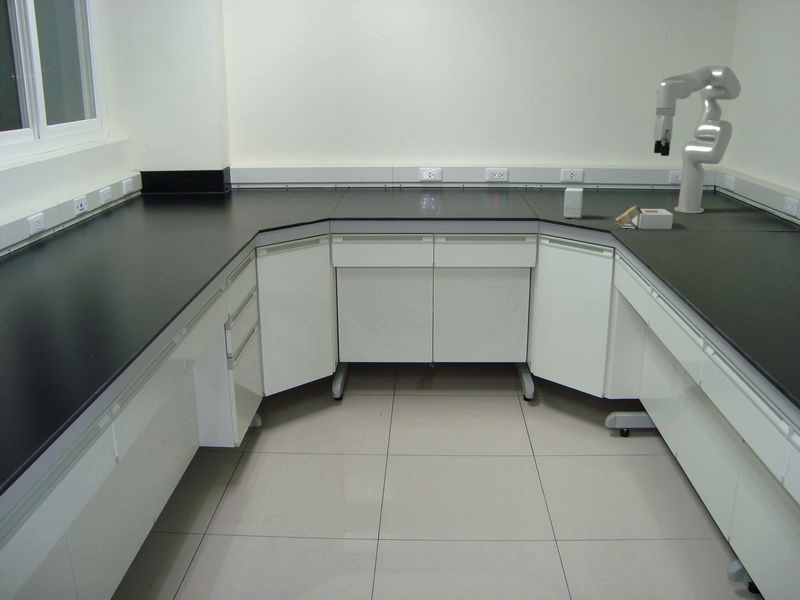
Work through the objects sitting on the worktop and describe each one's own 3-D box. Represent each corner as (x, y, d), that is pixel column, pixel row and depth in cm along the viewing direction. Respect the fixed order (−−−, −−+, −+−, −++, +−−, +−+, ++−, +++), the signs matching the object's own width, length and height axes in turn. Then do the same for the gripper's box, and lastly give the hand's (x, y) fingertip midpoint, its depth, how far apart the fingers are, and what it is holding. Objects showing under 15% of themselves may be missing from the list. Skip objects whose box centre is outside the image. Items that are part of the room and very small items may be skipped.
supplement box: (581, 216, 326) (584, 188, 322) (580, 219, 319) (582, 190, 315) (565, 215, 328) (566, 187, 324) (562, 218, 321) (564, 189, 317)
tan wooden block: (615, 219, 304) (635, 204, 302) (619, 225, 305) (640, 210, 303) (617, 220, 301) (638, 205, 299) (621, 226, 302) (642, 212, 300)
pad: (610, 225, 308) (610, 223, 308) (630, 225, 307) (630, 223, 307) (615, 229, 300) (615, 227, 300) (635, 229, 300) (635, 227, 300)
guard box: (631, 222, 312) (633, 208, 310) (662, 222, 312) (664, 209, 310) (639, 228, 301) (640, 214, 299) (671, 229, 300) (673, 214, 298)
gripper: (650, 111, 311) (646, 152, 316) (662, 113, 295) (658, 156, 300) (668, 111, 311) (663, 152, 316) (681, 113, 294) (676, 156, 300)
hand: (661, 154), depth 308 cm, fingers open, 9 cm apart
